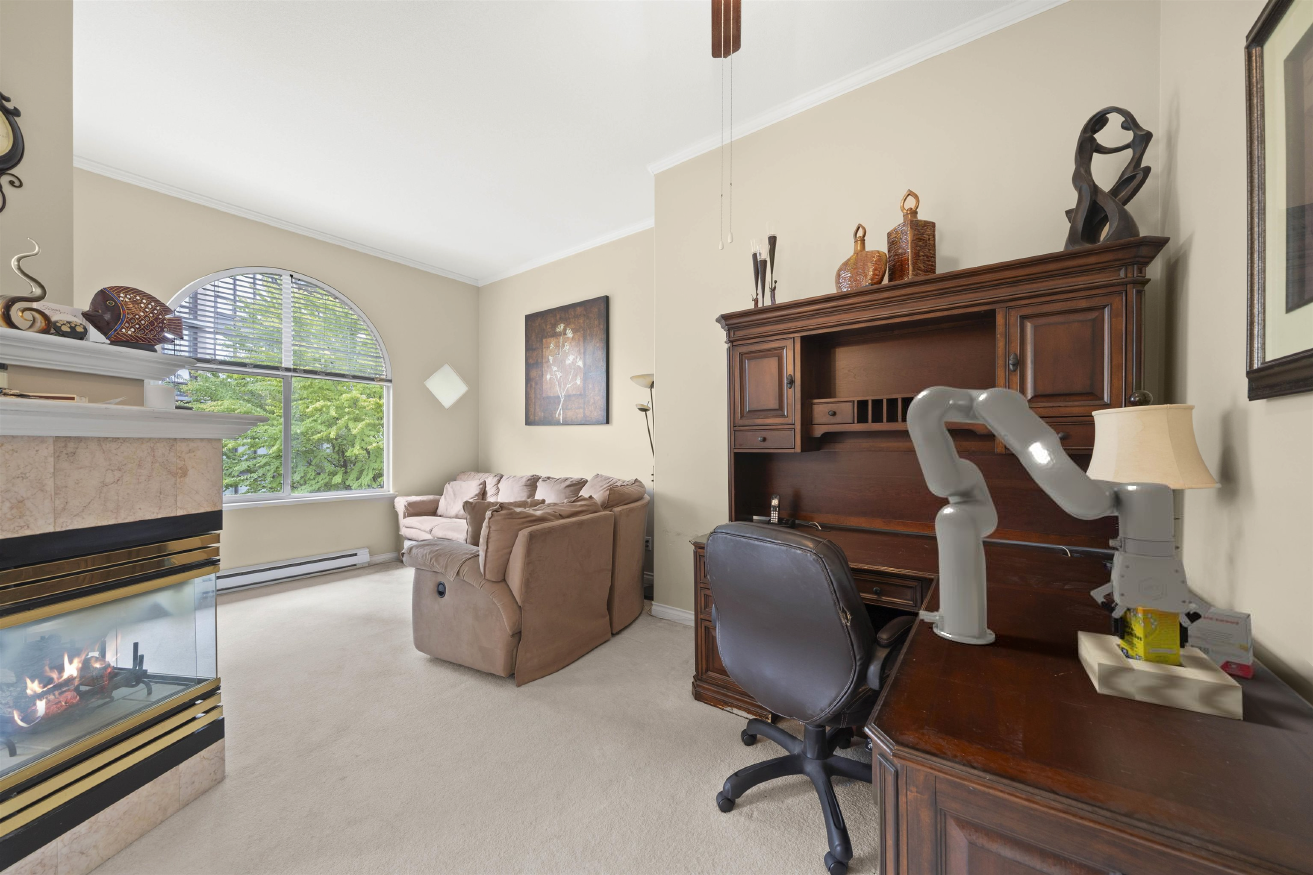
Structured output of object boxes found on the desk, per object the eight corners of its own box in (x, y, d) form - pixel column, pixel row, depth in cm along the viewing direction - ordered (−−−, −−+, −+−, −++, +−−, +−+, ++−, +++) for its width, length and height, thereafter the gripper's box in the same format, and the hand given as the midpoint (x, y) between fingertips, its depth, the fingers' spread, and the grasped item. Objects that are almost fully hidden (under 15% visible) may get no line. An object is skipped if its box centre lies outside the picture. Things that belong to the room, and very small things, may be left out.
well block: (1098, 692, 91) (1097, 662, 91) (1078, 656, 106) (1078, 630, 107) (1242, 720, 82) (1241, 686, 82) (1198, 676, 97) (1197, 648, 97)
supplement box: (1119, 654, 98) (1118, 598, 98) (1154, 656, 97) (1153, 599, 97) (1143, 667, 92) (1142, 608, 92) (1181, 669, 91) (1179, 609, 91)
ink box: (1254, 673, 98) (1253, 613, 98) (1250, 680, 95) (1248, 618, 96) (1190, 657, 106) (1189, 601, 106) (1185, 663, 103) (1183, 606, 103)
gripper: (1090, 546, 96) (1093, 639, 96) (1221, 556, 87) (1224, 658, 86) (1082, 540, 102) (1084, 626, 102) (1203, 548, 93) (1206, 643, 93)
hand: (1148, 640), depth 94 cm, fingers closed on supplement box, 7 cm apart
